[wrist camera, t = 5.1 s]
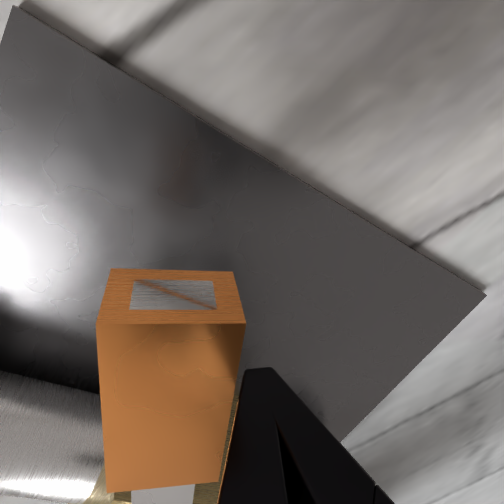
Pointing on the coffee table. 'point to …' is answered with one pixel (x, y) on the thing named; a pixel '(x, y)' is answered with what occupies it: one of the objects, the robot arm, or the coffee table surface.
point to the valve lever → (167, 379)
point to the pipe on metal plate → (176, 261)
